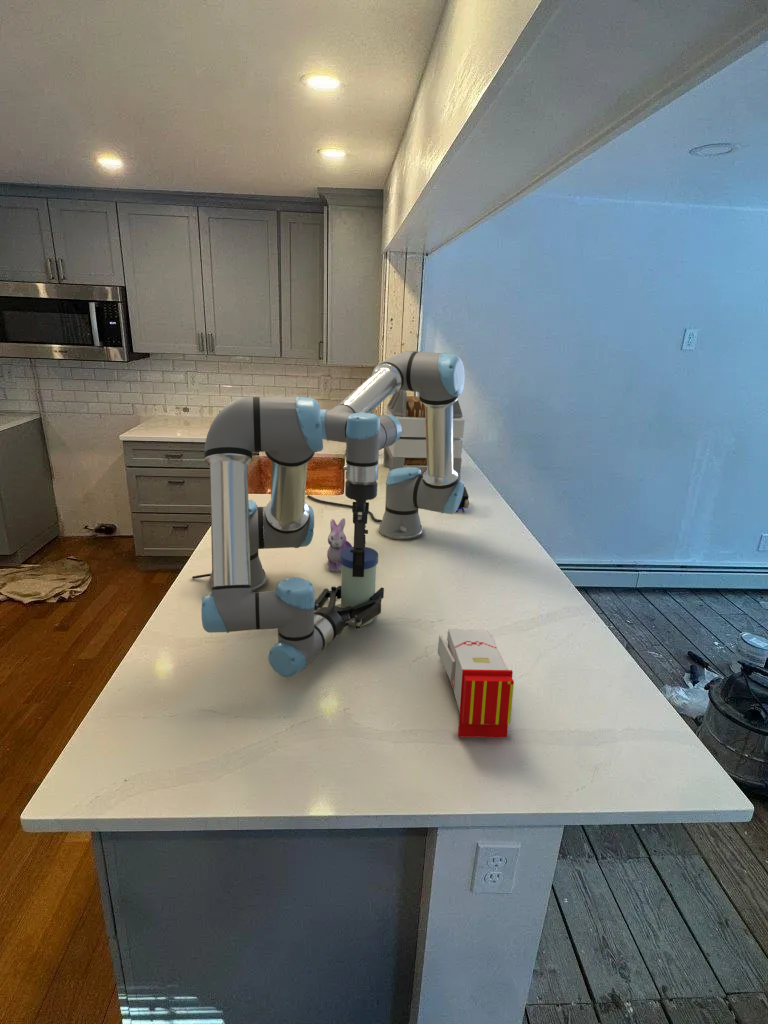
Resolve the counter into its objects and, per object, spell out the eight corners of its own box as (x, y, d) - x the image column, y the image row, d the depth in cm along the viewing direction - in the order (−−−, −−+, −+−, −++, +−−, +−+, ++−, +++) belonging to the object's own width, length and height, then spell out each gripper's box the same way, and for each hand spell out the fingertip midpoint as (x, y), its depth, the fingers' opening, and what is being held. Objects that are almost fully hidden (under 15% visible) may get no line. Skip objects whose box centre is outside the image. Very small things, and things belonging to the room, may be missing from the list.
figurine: (332, 575, 167) (332, 527, 162) (319, 561, 175) (319, 516, 170) (361, 569, 171) (362, 523, 166) (347, 556, 179) (348, 512, 174)
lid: (364, 572, 134) (364, 565, 133) (332, 562, 138) (332, 555, 138) (385, 559, 141) (385, 552, 141) (354, 550, 146) (354, 543, 145)
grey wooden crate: (382, 463, 289) (386, 382, 275) (445, 464, 293) (451, 384, 279) (390, 482, 257) (394, 392, 243) (460, 483, 261) (468, 394, 247)
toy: (488, 613, 130) (523, 677, 101) (484, 667, 133) (517, 744, 104) (435, 612, 130) (455, 676, 101) (432, 666, 133) (451, 743, 103)
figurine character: (469, 517, 223) (463, 501, 236) (471, 500, 219) (465, 484, 233) (452, 516, 222) (447, 500, 236) (454, 499, 219) (449, 483, 232)
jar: (349, 629, 140) (351, 565, 134) (335, 613, 147) (335, 552, 141) (380, 621, 144) (382, 559, 138) (364, 606, 151) (366, 546, 145)
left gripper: (281, 630, 133) (330, 591, 153) (362, 656, 125) (403, 611, 144) (280, 602, 131) (330, 565, 150) (363, 626, 122) (404, 584, 142)
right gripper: (347, 467, 143) (346, 548, 151) (342, 494, 122) (340, 587, 130) (377, 468, 143) (374, 549, 151) (377, 495, 123) (373, 588, 130)
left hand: (366, 588), depth 147 cm, fingers closed on jar, 9 cm apart
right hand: (358, 567), depth 140 cm, fingers closed on lid, 9 cm apart
